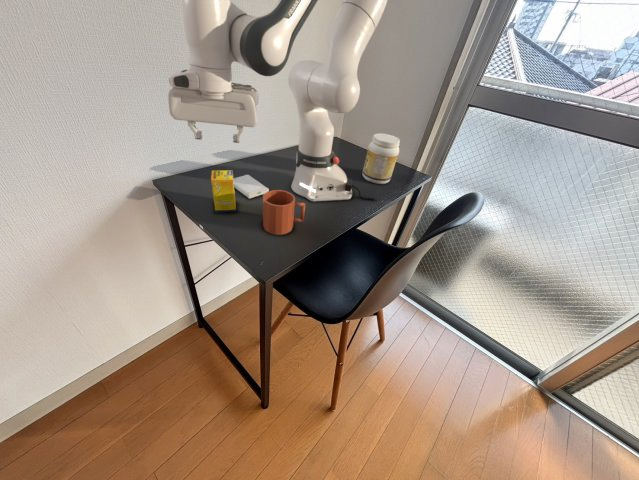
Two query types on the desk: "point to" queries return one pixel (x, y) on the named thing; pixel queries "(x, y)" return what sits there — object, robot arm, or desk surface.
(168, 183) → the desk surface
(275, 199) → the mug
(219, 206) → the supplement box
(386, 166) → the supplement tub
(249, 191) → the hard drive
